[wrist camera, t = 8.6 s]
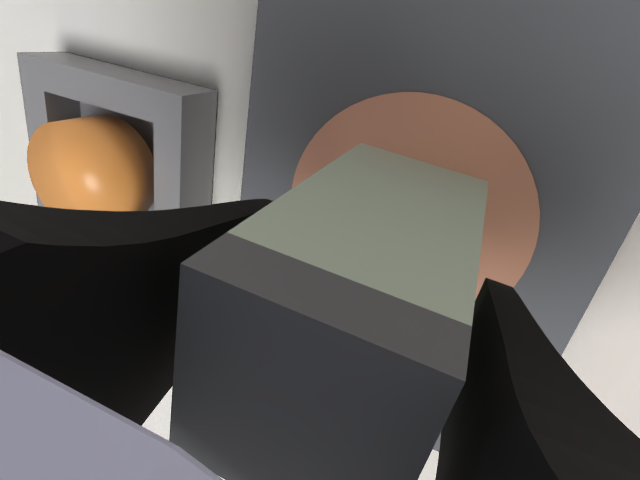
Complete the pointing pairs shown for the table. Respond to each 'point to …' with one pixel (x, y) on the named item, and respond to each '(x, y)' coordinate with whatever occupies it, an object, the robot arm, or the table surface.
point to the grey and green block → (331, 324)
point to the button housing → (131, 116)
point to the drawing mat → (468, 121)
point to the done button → (91, 165)
